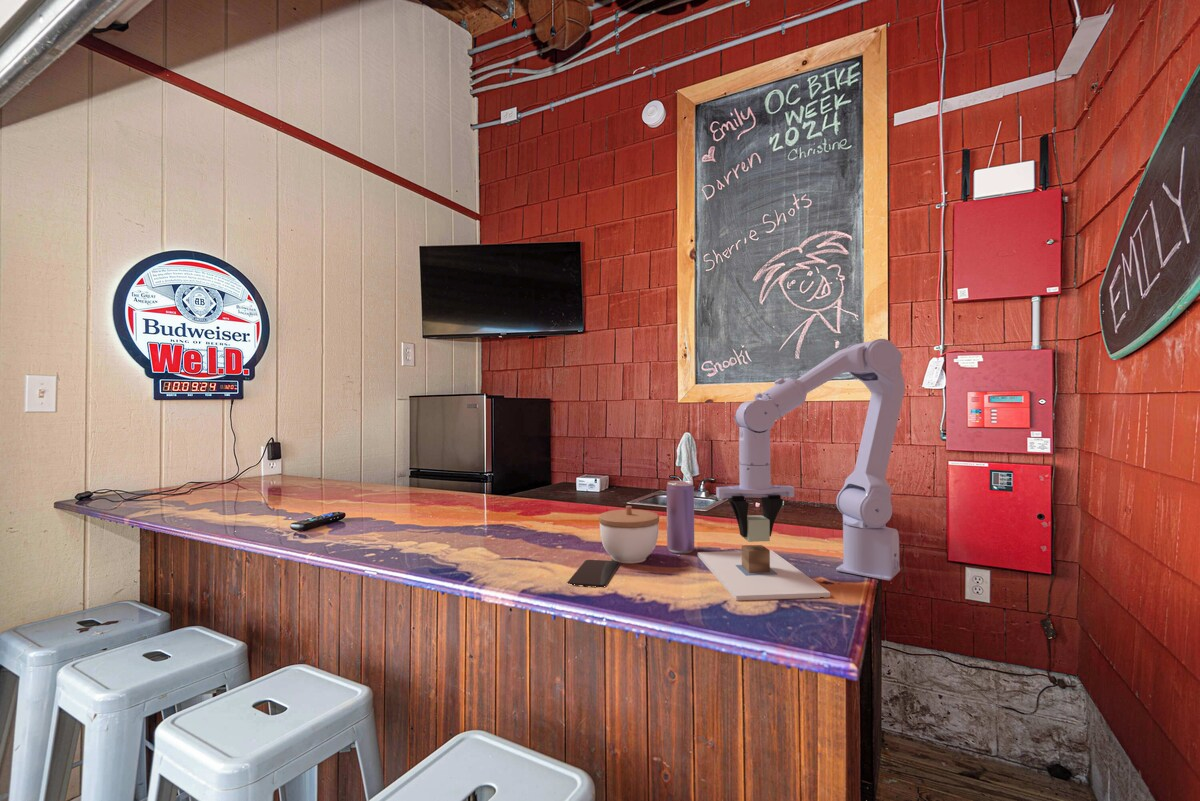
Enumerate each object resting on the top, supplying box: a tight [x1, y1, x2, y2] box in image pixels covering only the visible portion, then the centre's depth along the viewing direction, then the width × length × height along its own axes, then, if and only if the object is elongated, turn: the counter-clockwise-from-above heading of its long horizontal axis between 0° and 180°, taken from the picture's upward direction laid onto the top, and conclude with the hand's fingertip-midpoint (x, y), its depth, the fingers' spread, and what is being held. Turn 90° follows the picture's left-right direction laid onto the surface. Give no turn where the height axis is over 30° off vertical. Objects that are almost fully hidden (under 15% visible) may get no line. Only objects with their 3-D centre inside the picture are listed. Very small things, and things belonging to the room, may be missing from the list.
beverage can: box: [666, 480, 695, 555], centre depth 121 cm, size 6×6×15 cm
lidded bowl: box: [598, 505, 660, 565], centre depth 115 cm, size 13×13×11 cm
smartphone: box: [566, 559, 620, 588], centre depth 105 cm, size 7×1×15 cm
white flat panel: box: [697, 549, 831, 601], centre depth 104 cm, size 16×26×1 cm, turn 4°
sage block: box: [742, 514, 771, 543], centre depth 104 cm, size 4×4×4 cm
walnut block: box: [741, 544, 771, 573], centre depth 104 cm, size 4×4×4 cm
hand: (755, 535), depth 104 cm, fingers closed on sage block, 4 cm apart
